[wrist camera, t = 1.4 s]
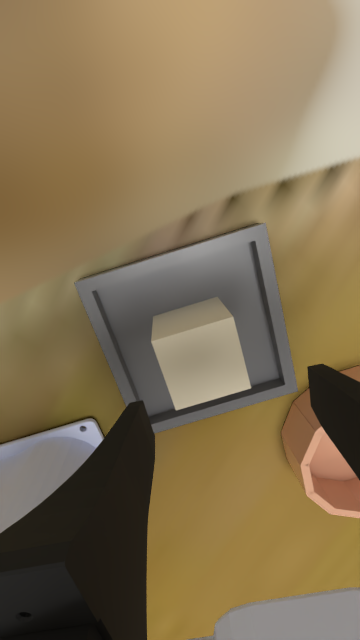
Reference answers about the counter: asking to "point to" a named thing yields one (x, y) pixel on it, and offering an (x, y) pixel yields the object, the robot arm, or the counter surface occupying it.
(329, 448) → the bowl
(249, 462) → the counter surface
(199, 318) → the cream cube block
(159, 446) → the counter surface
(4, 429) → the counter surface
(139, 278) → the parts tray
